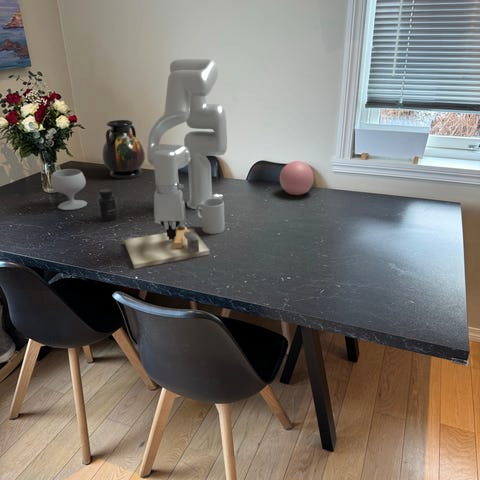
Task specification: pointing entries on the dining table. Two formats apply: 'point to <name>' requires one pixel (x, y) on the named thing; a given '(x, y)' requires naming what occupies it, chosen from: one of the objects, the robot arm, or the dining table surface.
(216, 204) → the mug
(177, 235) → the link
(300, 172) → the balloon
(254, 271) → the dining table surface
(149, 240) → the pivot board
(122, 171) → the amphora vase
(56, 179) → the chalice
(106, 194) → the supplement bottle
